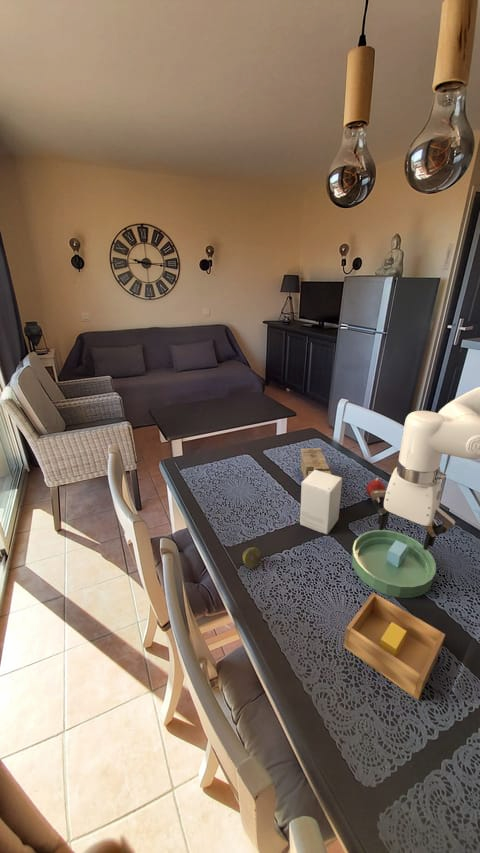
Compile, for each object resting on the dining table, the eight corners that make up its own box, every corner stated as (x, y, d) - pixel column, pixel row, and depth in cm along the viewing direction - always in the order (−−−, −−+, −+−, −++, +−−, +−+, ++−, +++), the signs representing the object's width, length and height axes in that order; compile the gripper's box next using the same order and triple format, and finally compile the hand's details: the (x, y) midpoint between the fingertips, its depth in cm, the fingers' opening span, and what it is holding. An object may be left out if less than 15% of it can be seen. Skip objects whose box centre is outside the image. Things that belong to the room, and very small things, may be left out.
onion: (383, 506, 115) (387, 484, 112) (364, 503, 117) (367, 482, 113) (383, 495, 120) (386, 475, 117) (365, 493, 122) (368, 472, 118)
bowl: (443, 565, 92) (447, 553, 90) (415, 615, 79) (418, 602, 78) (371, 531, 104) (373, 520, 102) (337, 569, 92) (338, 557, 90)
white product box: (339, 519, 110) (343, 477, 103) (327, 536, 103) (331, 492, 97) (312, 509, 114) (314, 468, 108) (298, 524, 108) (300, 481, 102)
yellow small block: (403, 644, 73) (406, 630, 71) (393, 662, 69) (396, 648, 68) (388, 634, 75) (391, 621, 73) (378, 652, 71) (381, 638, 70)
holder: (439, 653, 71) (445, 634, 69) (418, 700, 64) (423, 681, 62) (369, 610, 81) (372, 591, 78) (343, 646, 73) (346, 627, 71)
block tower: (337, 515, 112) (320, 465, 139) (339, 493, 109) (322, 446, 135) (311, 515, 113) (299, 465, 139) (313, 493, 109) (300, 446, 135)
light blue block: (405, 557, 94) (407, 545, 92) (397, 568, 91) (400, 555, 89) (394, 551, 96) (396, 539, 94) (386, 562, 93) (388, 550, 91)
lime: (262, 560, 95) (262, 545, 93) (256, 573, 91) (256, 558, 89) (246, 555, 97) (246, 541, 95) (240, 568, 93) (239, 553, 91)
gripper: (469, 477, 71) (451, 545, 78) (382, 451, 82) (373, 513, 89) (459, 494, 66) (441, 565, 73) (368, 464, 77) (360, 528, 84)
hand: (404, 536), depth 81 cm, fingers open, 9 cm apart
